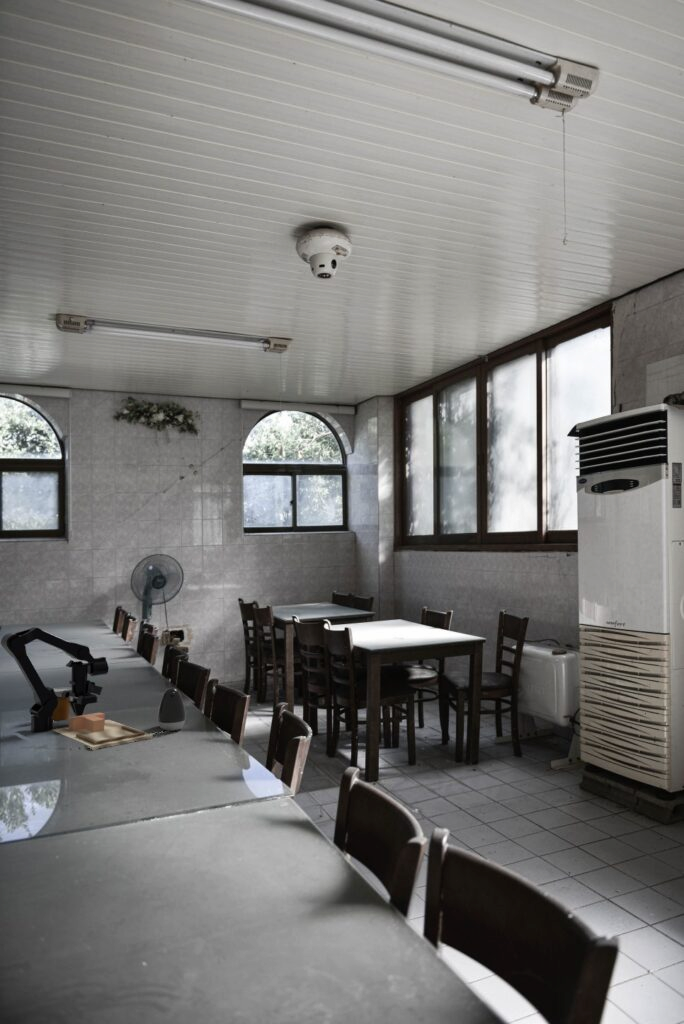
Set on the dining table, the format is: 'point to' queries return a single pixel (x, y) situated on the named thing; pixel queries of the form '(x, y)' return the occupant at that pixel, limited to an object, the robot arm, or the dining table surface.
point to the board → (105, 735)
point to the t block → (88, 722)
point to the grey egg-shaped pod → (171, 710)
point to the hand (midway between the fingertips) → (79, 719)
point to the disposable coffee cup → (61, 705)
